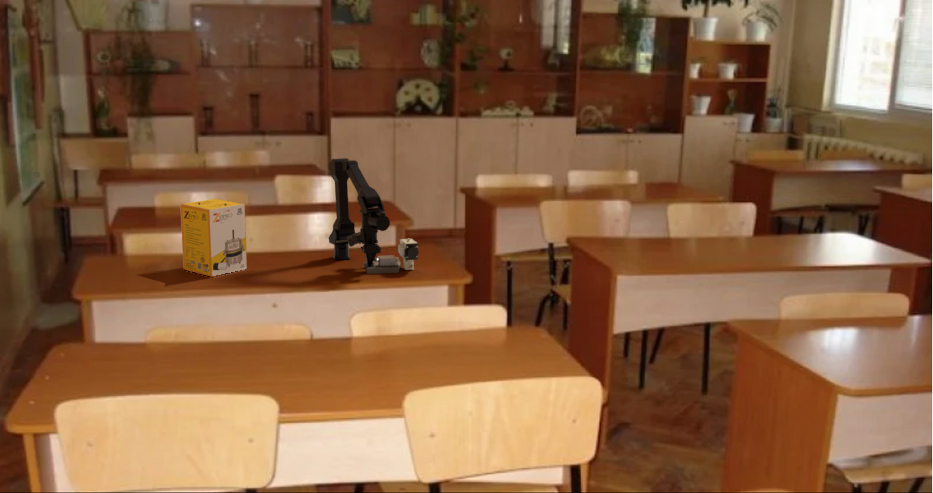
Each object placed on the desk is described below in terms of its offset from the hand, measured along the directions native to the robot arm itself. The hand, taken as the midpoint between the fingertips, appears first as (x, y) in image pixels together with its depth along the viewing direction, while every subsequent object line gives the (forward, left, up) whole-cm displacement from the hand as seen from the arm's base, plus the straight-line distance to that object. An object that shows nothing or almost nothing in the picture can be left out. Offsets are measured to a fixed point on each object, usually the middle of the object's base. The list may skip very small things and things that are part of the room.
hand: (369, 266), depth 338 cm
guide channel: (0, +5, -2) cm, 5 cm away
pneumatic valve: (0, +15, -2) cm, 15 cm away
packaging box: (-9, -56, -2) cm, 57 cm away
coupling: (0, +7, -2) cm, 7 cm away
